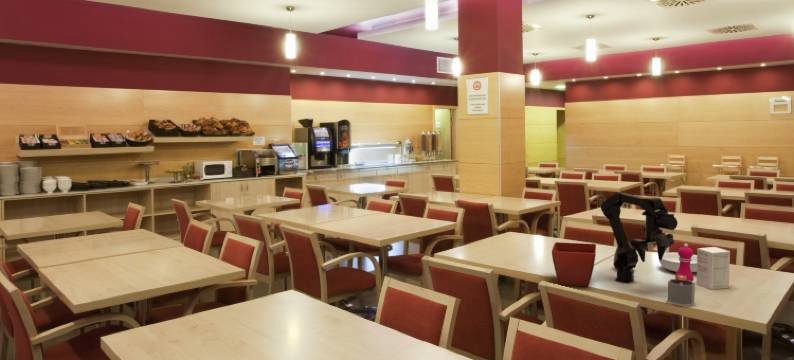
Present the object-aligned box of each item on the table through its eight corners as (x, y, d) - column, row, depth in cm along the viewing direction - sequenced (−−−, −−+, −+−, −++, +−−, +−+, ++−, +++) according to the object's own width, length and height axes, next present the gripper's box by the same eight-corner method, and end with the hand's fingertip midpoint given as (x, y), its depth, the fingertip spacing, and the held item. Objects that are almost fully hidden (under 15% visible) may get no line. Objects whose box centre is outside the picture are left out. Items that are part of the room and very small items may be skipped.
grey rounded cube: (664, 302, 219) (664, 282, 218) (671, 296, 226) (672, 277, 225) (690, 307, 212) (691, 287, 211) (697, 301, 219) (698, 281, 218)
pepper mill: (696, 289, 234) (698, 245, 232) (679, 289, 235) (681, 245, 233) (688, 285, 242) (690, 241, 240) (672, 284, 242) (674, 241, 240)
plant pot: (551, 286, 245) (551, 250, 243) (554, 275, 263) (555, 241, 261) (595, 290, 238) (595, 253, 236) (596, 278, 256) (596, 244, 254)
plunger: (668, 295, 219) (669, 276, 218) (674, 291, 224) (674, 272, 223) (688, 298, 214) (688, 279, 213) (693, 294, 219) (693, 275, 218)
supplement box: (714, 282, 245) (715, 246, 243) (729, 288, 235) (731, 251, 234) (695, 283, 243) (696, 247, 241) (710, 289, 234) (712, 252, 232)
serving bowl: (659, 274, 259) (660, 261, 258) (656, 264, 278) (656, 251, 277) (708, 278, 251) (709, 264, 250) (701, 267, 270) (702, 253, 270)
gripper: (649, 231, 223) (648, 267, 225) (684, 227, 229) (683, 263, 230) (630, 226, 234) (629, 261, 235) (664, 223, 239) (663, 257, 241)
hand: (651, 260), depth 235 cm, fingers open, 9 cm apart
